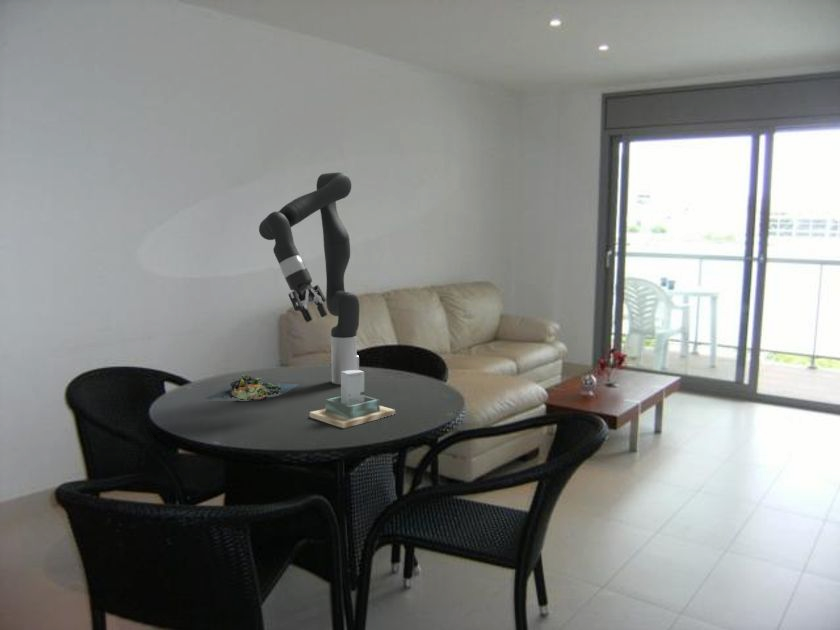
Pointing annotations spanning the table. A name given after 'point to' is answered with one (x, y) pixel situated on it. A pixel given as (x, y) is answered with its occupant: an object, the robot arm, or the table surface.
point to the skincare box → (352, 387)
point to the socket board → (351, 412)
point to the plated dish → (252, 389)
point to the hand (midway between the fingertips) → (317, 318)
